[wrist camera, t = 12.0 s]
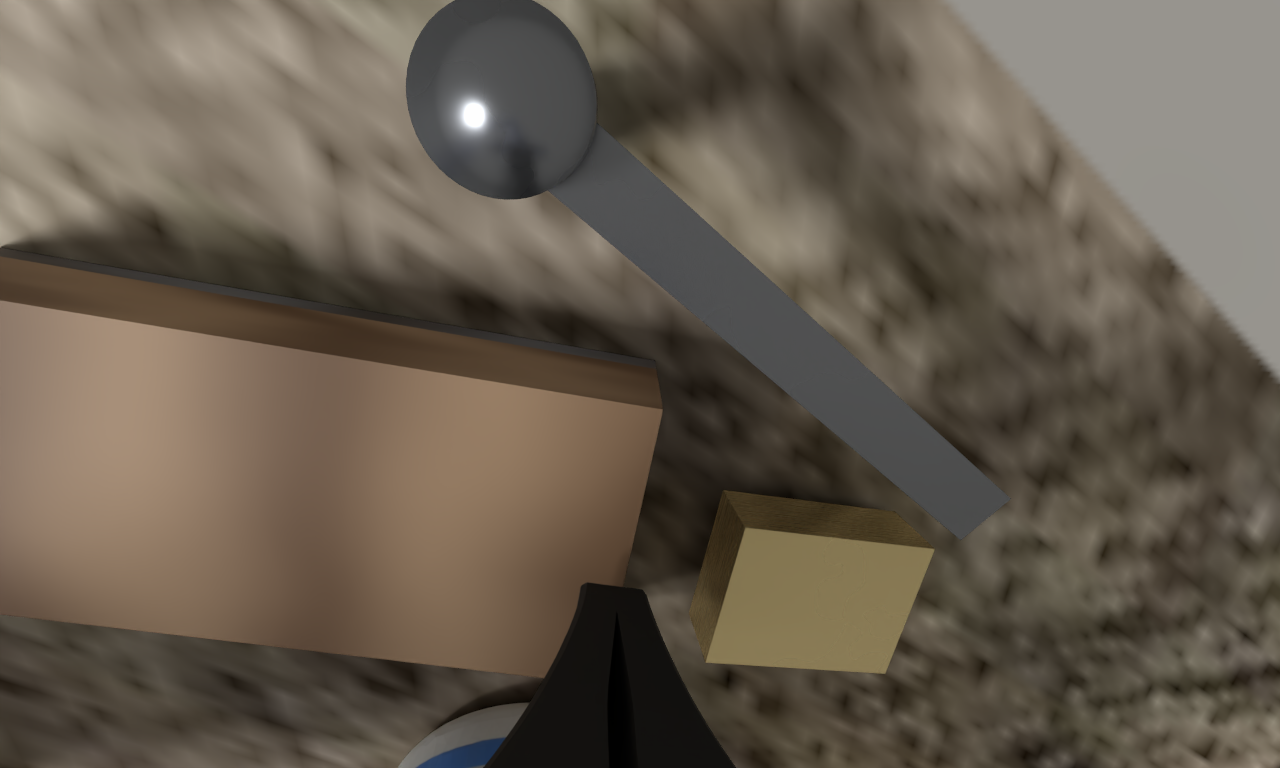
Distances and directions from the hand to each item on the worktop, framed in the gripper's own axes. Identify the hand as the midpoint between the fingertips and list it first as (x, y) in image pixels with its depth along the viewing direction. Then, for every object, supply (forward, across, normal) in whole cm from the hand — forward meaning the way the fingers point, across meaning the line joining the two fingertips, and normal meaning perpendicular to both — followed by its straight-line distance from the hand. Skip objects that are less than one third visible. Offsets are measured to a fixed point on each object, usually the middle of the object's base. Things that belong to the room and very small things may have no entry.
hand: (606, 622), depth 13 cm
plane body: (+4, +7, -1) cm, 8 cm away
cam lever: (+4, -1, -7) cm, 8 cm away
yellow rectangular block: (+1, -5, 0) cm, 5 cm away
